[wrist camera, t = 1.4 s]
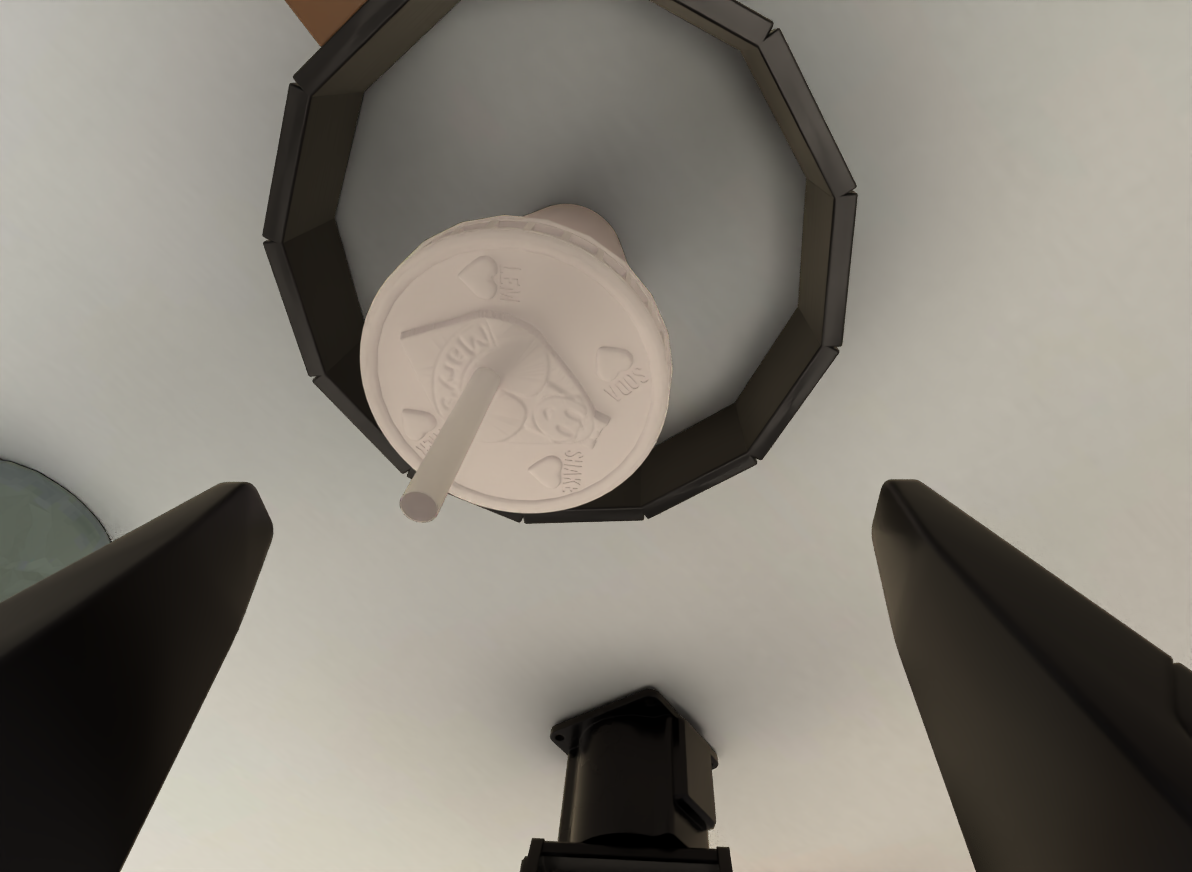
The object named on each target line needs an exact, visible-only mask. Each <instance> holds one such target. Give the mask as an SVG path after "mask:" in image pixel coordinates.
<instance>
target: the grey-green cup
mask: <svg viewBox="0 0 1192 872" xmlns="http://www.w3.org/2000/svg"><path fill="white" fill-rule="evenodd" d="M109 543H110V540H109V538H108V535H107V534H106V532H105V531H104V529H103V527H102V526H101V524H100V523H99V521H98V520H97V519H96V517H95V516H94V515H93V514H92V513H91V512H90V511H89V510H88V509H87V508H86V507H85V506H84V505H83V504H82V503H81V502H80V501H79V500H78V499H77V498H75V497H74V496H73V495H72V494H71V493H69V492H68V491H67V490H65V489H64V488H62V487H61V486H60V485H58V484H57V483H55V482H53V481H52V480H50V479H48V478H47V477H45V476H43V475H42V474H40V473H39V472H36V471H34V470H31V469H28V468H26V467H23V466H20V465H18V464H15V463H12V462H9V461H2V460H0V602H2V601H4V600H6V599H8V598H10V597H11V596H13V595H15V594H17V593H19V592H21V591H22V590H24V589H26V588H28V587H30V586H32V585H33V584H35V583H37V582H39V581H41V580H43V579H45V578H46V577H48V576H50V575H52V574H54V573H56V572H57V571H59V570H61V569H63V568H65V567H67V566H68V565H70V564H72V563H74V562H76V561H78V560H79V559H81V558H83V557H85V556H87V555H89V554H90V553H92V552H94V551H96V550H98V549H100V548H102V547H103V546H105V545H107V544H109Z"/></svg>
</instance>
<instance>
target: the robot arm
mask: <svg viewBox="0 0 1192 872" xmlns="http://www.w3.org/2000/svg"><path fill="white" fill-rule="evenodd" d="M272 538H273V524H272V521H271V519H270V517H269V515H268V512H267V510H266V508H265V506H264V504H263V502H262V500H261V498H260V495H259V493H258V491H257V489H256V488H255V487H254V486H253V485H252V484H251V483H248V482H223V483H220V484H217V485H215V486H214V487H212V488H210V489H208V490H206V491H204V492H203V493H201V494H199V495H197V496H195V497H193V498H192V499H190V500H188V501H186V502H184V503H182V504H181V505H179V506H177V507H175V508H173V509H171V510H170V511H168V512H166V513H164V514H162V515H160V516H158V517H157V518H155V519H153V520H151V521H149V522H147V523H146V524H144V525H142V526H140V527H138V528H136V529H135V530H133V531H131V532H129V533H127V534H125V535H124V536H122V537H120V538H118V539H116V540H114V541H113V542H111V543H109V544H107V545H105V546H103V547H102V548H100V549H98V550H96V551H94V552H92V553H90V554H89V555H87V556H85V557H83V558H81V559H79V560H78V561H76V562H74V563H72V564H70V565H68V566H67V567H65V568H63V569H61V570H59V571H57V572H56V573H54V574H52V575H50V576H48V577H46V578H45V579H43V580H41V581H39V582H37V583H35V584H33V585H32V586H30V587H28V588H26V589H24V590H22V591H21V592H19V593H17V594H15V595H13V596H11V597H10V598H8V599H6V600H4V601H2V602H0V872H120V871H121V869H122V867H123V865H124V863H125V861H126V859H127V857H128V855H129V853H130V851H131V849H132V847H133V845H134V843H135V841H136V839H137V836H138V834H139V832H140V830H141V828H142V826H143V824H144V822H145V820H146V818H147V816H148V814H149V812H150V810H151V808H152V806H153V804H154V802H155V800H156V798H157V796H158V794H159V792H160V790H161V788H162V786H163V783H164V781H165V779H166V777H167V775H168V773H169V771H170V769H171V767H172V765H173V763H174V761H175V759H176V757H177V755H178V753H179V751H180V749H181V747H182V745H183V743H184V741H185V739H186V737H187V735H188V733H189V730H190V728H191V726H192V724H193V722H194V720H195V718H196V716H197V714H198V712H199V710H200V708H201V706H202V704H203V702H204V700H205V698H206V696H207V694H208V692H209V690H210V688H211V686H212V684H213V682H214V680H215V678H216V675H217V673H218V671H219V669H220V667H221V665H222V663H223V661H224V659H225V657H226V655H227V653H228V651H229V649H230V647H231V645H232V643H233V641H234V638H235V636H236V634H237V632H238V630H239V627H240V625H241V622H242V620H243V617H244V615H245V612H246V609H247V607H248V604H249V601H250V598H251V596H252V593H253V590H254V588H255V585H256V582H257V579H258V577H259V574H260V571H261V569H262V566H263V563H264V560H265V558H266V555H267V552H268V549H269V547H270V544H271V541H272ZM872 542H873V546H874V551H875V555H876V560H877V564H878V569H879V573H880V578H881V582H882V587H883V591H884V596H885V600H886V605H887V609H888V614H889V618H890V623H891V627H892V631H893V635H894V639H895V643H896V646H897V649H898V652H899V655H900V658H901V661H902V664H903V667H904V670H905V672H906V675H907V678H908V681H909V684H910V686H911V689H912V692H913V695H914V698H915V701H916V703H917V706H918V709H919V712H920V715H921V718H922V720H923V723H924V726H925V729H926V732H927V735H928V737H929V740H930V743H931V746H932V749H933V751H934V754H935V757H936V760H937V763H938V766H939V768H940V771H941V774H942V777H943V780H944V783H945V785H946V788H947V791H948V794H949V797H950V799H951V802H952V805H953V808H954V811H955V814H956V816H957V819H958V822H959V825H960V828H961V831H962V833H963V836H964V839H965V842H966V845H967V848H968V850H969V853H970V856H971V859H972V862H973V864H974V867H975V870H976V872H1192V671H1191V670H1190V669H1188V668H1187V667H1185V666H1184V665H1182V664H1181V663H1173V659H1172V657H1171V656H1169V655H1168V654H1166V653H1165V652H1164V651H1162V650H1161V649H1159V648H1158V647H1156V646H1155V645H1154V644H1152V643H1151V642H1149V641H1148V640H1146V639H1145V638H1144V637H1142V636H1141V635H1139V634H1138V633H1136V632H1135V631H1134V630H1132V629H1131V628H1129V627H1128V626H1126V625H1125V624H1124V623H1122V622H1121V621H1119V620H1118V619H1116V618H1115V617H1114V616H1112V615H1111V614H1109V613H1108V612H1106V611H1105V610H1104V609H1102V608H1101V607H1099V606H1098V605H1096V604H1095V603H1094V602H1092V601H1091V600H1089V599H1088V598H1086V597H1085V596H1084V595H1082V594H1081V593H1079V592H1078V591H1076V590H1075V589H1074V588H1072V587H1071V586H1069V585H1068V584H1066V583H1065V582H1064V581H1062V580H1061V579H1059V578H1058V577H1056V576H1055V575H1054V574H1052V573H1051V572H1049V571H1048V570H1046V569H1045V568H1044V567H1042V566H1041V565H1039V564H1038V563H1036V562H1035V561H1034V560H1032V559H1031V558H1029V557H1028V556H1026V555H1025V554H1024V553H1022V552H1021V551H1019V550H1018V549H1016V548H1015V547H1014V546H1012V545H1011V544H1009V543H1008V542H1006V541H1005V540H1004V539H1002V538H1001V537H999V536H998V535H996V534H995V533H994V532H992V531H991V530H989V529H988V528H986V527H985V526H984V525H982V524H981V523H979V522H978V521H976V520H975V519H974V518H972V517H971V516H969V515H968V514H966V513H965V512H964V511H962V510H961V509H959V508H958V507H956V506H955V505H954V504H952V503H951V502H949V501H948V500H946V499H945V498H944V497H942V496H941V495H939V494H938V493H936V492H935V491H934V490H932V489H931V488H929V487H928V486H926V485H925V484H924V483H922V482H920V481H918V480H914V479H890V480H887V481H886V482H884V484H883V486H882V488H881V491H880V495H879V499H878V503H877V507H876V511H875V515H874V519H873V524H872ZM550 739H551V740H552V741H553V742H554V743H555V744H556V745H557V746H558V747H559V748H561V749H562V750H563V751H564V752H565V753H566V754H567V755H568V761H567V769H566V777H565V785H564V794H563V802H562V810H561V818H560V826H559V835H558V842H557V841H545V839H543V838H532V841H531V845H530V849H529V853H528V856H525V858H524V859H523V860H522V863H521V869H520V872H733V871H732V864H731V857H730V849H729V847H717V849H709V840H708V830H711V829H713V828H714V827H715V824H716V814H715V802H714V790H713V778H712V769H715V768H716V767H717V766H718V757H717V754H716V753H715V752H714V751H713V750H712V749H711V748H710V746H709V744H708V743H707V742H706V741H705V740H704V739H703V738H702V736H701V735H700V734H699V733H698V732H697V731H696V730H695V729H694V728H693V727H692V726H691V725H690V724H689V723H688V721H687V720H686V719H684V718H683V717H681V716H680V715H679V714H678V712H677V711H676V710H675V709H674V708H673V707H672V706H671V705H670V704H669V703H668V702H667V701H666V700H665V699H664V697H663V696H662V695H661V694H660V693H659V692H658V691H656V690H653V689H646V690H643V691H640V692H638V693H635V694H633V695H630V696H628V697H625V698H623V699H620V700H618V701H615V702H613V703H610V704H608V705H605V706H603V707H600V708H598V709H595V710H593V711H590V712H587V713H585V714H582V715H580V716H577V717H575V718H572V719H570V720H567V721H565V722H562V723H560V724H557V725H555V726H553V727H552V729H551V734H550Z"/></svg>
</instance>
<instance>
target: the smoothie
mask: <svg viewBox="0 0 1192 872" xmlns="http://www.w3.org/2000/svg"><path fill="white" fill-rule="evenodd" d="M360 371H361V377H362V383H363V387H364V391H365V395H366V398H367V401H368V404H369V407H370V409H371V412H372V414H373V416H374V418H375V420H376V422H377V424H378V426H379V427H380V429H381V431H382V432H383V434H384V436H385V437H386V438H387V440H388V441H389V443H390V444H391V445H392V447H393V448H394V449H395V450H396V451H397V453H398V454H399V455H400V456H401V457H402V458H403V459H404V460H405V461H406V462H407V463H408V464H409V465H410V466H411V467H412V468H413V469H414V470H416V473H415V475H414V477H413V478H412V480H411V482H410V483H409V485H408V487H407V489H406V490H405V492H404V494H403V496H402V497H401V499H400V508H401V510H402V512H403V513H404V515H405V516H406V517H408V518H409V519H411V520H413V521H416V522H422V523H424V522H429V521H432V520H433V519H435V518H436V516H437V515H438V513H439V510H440V508H441V506H442V504H443V502H444V500H445V498H446V496H447V494H448V493H450V494H452V495H454V496H456V497H458V498H460V499H463V500H465V501H468V502H470V503H473V504H476V505H479V506H483V507H486V508H491V509H495V510H500V511H506V512H515V513H545V512H554V511H560V510H565V509H569V508H573V507H577V506H579V505H582V504H585V503H588V502H590V501H593V500H595V499H597V498H599V497H601V496H603V495H605V494H606V493H608V492H610V491H612V490H613V489H614V488H616V487H617V486H619V485H620V484H621V483H623V482H624V481H625V480H626V479H627V478H628V477H630V476H631V475H632V474H633V473H634V472H635V471H636V470H637V469H638V468H639V466H640V465H641V464H642V463H643V462H644V460H645V459H646V458H647V456H648V455H649V453H650V452H651V450H652V448H653V447H654V445H655V443H656V441H657V439H658V437H659V435H660V433H661V430H662V427H663V424H664V421H665V418H666V414H667V409H668V404H669V395H670V386H671V380H672V373H673V366H672V358H671V350H670V343H669V335H668V331H667V328H666V326H665V324H664V322H663V319H662V317H661V315H660V312H659V310H658V308H657V305H656V303H655V301H654V298H653V296H652V294H651V293H650V292H649V291H648V289H647V288H646V287H645V286H644V284H643V283H642V282H641V281H640V279H639V278H638V277H637V276H636V274H635V273H634V272H633V271H632V269H631V268H630V267H629V266H628V264H627V261H626V258H625V255H624V252H623V250H622V247H621V244H620V241H619V239H618V237H617V235H616V233H615V231H614V230H613V228H612V227H611V226H610V224H609V223H608V222H607V221H606V220H605V219H604V218H603V217H601V216H600V215H599V214H597V213H596V212H594V211H592V210H590V209H588V208H586V207H583V206H579V205H574V204H557V205H552V206H549V207H546V208H543V209H541V210H538V211H536V212H533V213H531V214H528V215H525V216H523V217H519V216H510V215H500V216H495V217H489V218H483V219H477V220H471V221H466V222H461V223H459V224H457V225H455V226H453V227H451V228H449V229H447V230H445V231H443V232H441V233H439V234H437V235H435V236H433V237H431V238H429V239H427V240H425V241H424V242H423V243H422V244H421V245H420V246H419V247H417V248H416V249H415V250H414V251H413V252H412V253H411V254H410V255H409V256H408V257H407V258H406V259H405V260H404V261H403V262H402V263H401V264H400V265H399V266H398V267H397V268H396V269H395V270H394V272H393V273H392V274H391V275H390V276H389V277H388V278H387V279H386V281H385V282H384V284H383V285H382V286H381V288H380V289H379V291H378V292H377V294H376V296H375V298H374V300H373V301H372V304H371V306H370V308H369V311H368V313H367V316H366V319H365V323H364V326H363V330H362V336H361V343H360Z"/></svg>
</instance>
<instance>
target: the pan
mask: <svg viewBox="0 0 1192 872" xmlns="http://www.w3.org/2000/svg"><path fill="white" fill-rule="evenodd" d="M285 1H286V3H287V4H288V5H289V7H290V8H291V9H292V10H293V12H294V13H295V14H296V16H297V17H298V18H299V19H300V21H301V22H302V23H303V25H304V26H305V27H306V29H307V30H308V31H309V32H310V34H311V35H312V36H313V38H314V39H315V40H316V41H317V43H318V44H319V45H320V46H321V48H320V49H319V50H318V51H317V52H316V53H315V54H314V55H313V56H312V57H311V58H310V59H309V60H308V61H307V62H306V63H305V64H304V65H303V66H302V67H301V68H300V69H299V70H298V71H297V72H296V73H295V74H294V76H293V79H294V80H295V81H296V82H297V83H290V84H289V89H288V94H287V100H286V106H285V111H284V117H283V122H282V128H281V134H280V139H279V145H278V150H277V156H276V162H275V167H274V173H273V178H272V184H271V190H270V195H269V201H268V206H267V212H266V218H265V223H264V229H263V234H262V235H263V237H264V238H267V239H268V240H266V241H264V242H263V245H264V248H265V251H266V254H267V257H268V259H269V262H270V265H271V268H272V271H273V274H274V277H275V280H276V283H277V286H278V288H279V291H280V294H281V297H282V300H283V303H284V306H285V309H286V312H287V315H288V317H289V320H290V323H291V326H292V329H293V332H294V335H295V338H296V341H297V344H298V347H299V349H300V352H301V355H302V358H303V361H304V364H305V367H306V370H307V373H308V375H309V376H310V377H312V376H316V377H315V378H314V379H313V383H314V384H315V385H316V386H317V387H318V388H319V389H320V390H321V391H322V392H323V393H324V394H325V395H326V396H327V397H328V398H329V399H330V400H331V401H332V402H333V403H334V404H335V405H336V406H337V407H338V408H339V409H340V411H341V412H342V413H343V414H344V415H345V416H346V417H347V418H348V419H349V420H350V421H351V422H352V423H353V424H354V425H355V426H356V427H357V428H358V429H359V430H360V431H361V432H362V433H363V434H364V435H365V436H366V437H367V438H368V439H369V440H370V441H371V442H372V443H373V444H374V445H375V446H376V447H377V448H378V449H379V450H380V451H381V452H382V454H383V455H384V456H385V457H386V458H387V459H388V460H389V461H390V462H391V463H392V464H393V465H394V466H395V467H396V468H397V469H398V470H399V471H400V472H401V473H402V474H404V473H406V472H407V471H408V474H407V477H408V478H410V479H412V478H413V477H414V475H415V473H416V470H414V469H413V468H412V467H411V466H410V465H409V464H408V463H407V462H406V461H405V460H404V459H403V458H402V457H401V456H400V455H399V454H398V453H397V451H396V450H395V449H394V448H393V447H392V445H391V444H390V443H389V441H388V440H387V438H386V437H385V436H384V434H383V432H382V431H381V429H380V427H379V426H378V424H377V422H376V420H375V418H374V416H373V414H372V412H371V409H370V407H369V404H368V401H367V398H366V395H365V391H364V387H363V383H362V377H361V371H360V343H361V336H362V330H363V326H364V320H363V316H362V312H361V309H360V305H359V302H358V298H357V295H356V291H355V288H354V284H353V281H352V277H351V274H350V270H349V267H348V263H347V260H346V256H345V253H344V249H343V246H342V242H341V239H340V235H339V232H338V228H337V225H336V221H335V214H336V209H337V205H338V201H339V197H340V192H341V188H342V184H343V180H344V175H345V171H346V167H347V162H348V158H349V154H350V150H351V145H352V141H353V137H354V133H355V128H356V124H357V120H358V115H359V111H360V107H361V103H362V98H363V94H364V91H366V90H367V89H368V88H369V87H370V86H371V85H372V84H373V83H374V82H375V81H376V80H377V79H378V78H379V77H380V76H381V75H382V74H383V73H384V72H386V71H387V70H388V69H389V68H390V67H391V66H392V65H393V64H394V63H395V62H396V61H397V60H398V59H399V58H400V57H401V56H402V55H403V54H404V53H406V52H407V51H408V50H409V49H410V48H411V47H412V46H413V45H414V44H415V43H416V42H417V41H418V40H419V39H420V38H421V37H422V36H423V35H424V34H426V33H427V32H428V31H429V30H430V29H431V28H432V27H433V26H434V25H435V24H436V23H437V22H438V21H439V20H440V19H441V18H442V17H443V16H445V15H446V14H447V13H448V12H449V11H450V10H451V9H452V8H453V7H454V6H455V5H456V4H457V3H458V2H459V1H460V0H285ZM649 1H651V2H653V3H655V4H657V5H658V6H660V7H662V8H664V9H666V10H667V11H669V12H671V13H673V14H675V15H676V16H678V17H680V18H682V19H684V20H685V21H687V22H689V23H691V24H693V25H694V26H696V27H698V28H700V29H702V30H703V31H705V32H707V33H709V34H711V35H712V36H714V37H716V38H718V39H720V40H721V41H723V42H725V43H727V44H729V45H730V46H732V47H734V48H736V49H737V50H739V51H740V52H741V53H742V55H743V57H744V59H745V61H746V63H747V65H748V67H749V69H750V71H751V73H752V75H753V77H754V79H755V80H756V82H757V84H758V86H759V88H760V90H761V92H762V94H763V96H764V98H765V100H766V102H767V104H768V105H769V107H770V109H771V111H772V113H773V115H774V117H775V119H776V121H777V123H778V125H779V127H780V129H781V131H782V132H783V134H784V136H785V138H786V140H787V142H788V144H789V146H790V148H791V150H792V152H793V154H794V156H795V157H796V159H797V161H798V163H799V165H800V167H801V169H802V171H803V173H804V175H805V177H806V189H805V205H804V220H803V236H802V251H801V267H800V282H799V298H798V307H797V309H796V310H795V312H794V313H793V315H792V316H791V318H790V320H789V321H788V323H787V324H786V326H785V327H784V329H783V330H782V332H781V333H780V335H779V336H778V338H777V339H776V341H775V342H774V344H773V345H772V347H771V349H770V350H769V352H768V353H767V355H766V356H765V358H764V359H763V361H762V362H761V364H760V365H759V367H758V368H757V370H756V371H755V373H754V375H753V376H752V378H751V379H750V381H749V382H748V384H747V385H746V387H745V388H744V390H743V391H742V393H741V394H740V396H739V397H738V399H737V401H736V402H735V403H734V404H732V405H730V406H728V407H726V408H725V409H723V410H721V411H719V412H717V413H715V414H714V415H712V416H710V417H708V418H706V419H704V420H703V421H701V422H699V423H697V424H695V425H694V426H692V427H690V428H688V429H686V430H684V431H683V432H681V433H679V434H677V435H675V436H674V437H672V438H670V439H668V440H666V441H664V442H663V443H661V444H659V445H657V446H655V447H653V448H652V450H651V452H650V453H649V455H648V456H647V458H646V459H645V460H644V462H643V463H642V464H641V465H640V466H639V468H638V469H637V470H636V471H635V472H634V473H633V474H632V475H631V476H630V477H628V478H627V479H626V480H625V481H624V482H623V483H621V484H620V485H619V486H617V487H616V488H614V489H613V490H612V491H610V492H608V493H606V494H605V495H603V496H601V497H599V498H597V499H595V500H593V501H590V502H588V503H585V504H582V505H579V506H577V507H573V508H569V509H565V510H560V511H554V512H545V513H515V512H506V511H500V510H495V509H491V508H486V507H483V506H479V505H477V506H479V507H482V508H484V509H487V510H489V511H492V512H494V513H497V514H499V515H502V516H504V517H506V518H509V519H511V520H514V521H516V522H521V521H522V519H524V523H526V524H532V523H567V522H603V521H638V520H644V515H645V516H646V517H647V518H648V519H650V518H652V517H654V516H656V515H658V514H660V513H661V512H663V511H665V510H667V509H669V508H671V507H673V506H675V505H677V504H679V503H681V502H683V501H685V500H687V499H689V498H691V497H693V496H695V495H697V494H699V493H701V492H703V491H705V490H707V489H709V488H711V487H713V486H715V485H717V484H719V483H721V482H723V481H725V480H727V479H729V478H731V477H733V476H735V475H737V474H739V473H741V472H743V471H745V470H747V469H749V468H751V467H753V466H755V465H756V464H757V459H759V460H762V459H763V458H764V457H765V455H766V454H767V452H768V451H769V450H770V448H771V447H772V445H773V444H774V443H775V441H776V440H777V438H778V437H779V436H780V434H781V433H782V431H783V430H784V429H785V427H786V426H787V425H788V423H789V422H790V420H791V419H792V418H793V416H794V415H795V413H796V412H797V411H798V409H799V408H800V406H801V405H802V404H803V402H804V401H805V399H806V398H807V397H808V395H809V394H810V393H811V391H812V390H813V388H814V387H815V386H816V384H817V383H818V381H819V380H820V379H821V377H822V376H823V374H824V373H825V372H826V370H827V369H828V367H829V366H830V365H831V363H832V362H833V361H834V359H835V358H836V356H837V355H838V354H839V350H838V348H837V347H840V346H842V343H843V333H844V323H845V314H846V304H847V294H848V285H849V275H850V265H851V255H852V246H853V236H854V226H855V217H856V207H857V197H858V195H857V193H856V192H854V191H853V189H855V188H856V187H857V185H856V183H855V181H854V179H853V177H852V175H851V173H850V171H849V169H848V167H847V165H846V163H845V161H844V159H843V157H842V154H841V152H840V150H839V148H838V146H837V144H836V142H835V140H834V138H833V136H832V134H831V132H830V130H829V128H828V126H827V124H826V122H825V120H824V118H823V116H822V114H821V111H820V109H819V107H818V105H817V103H816V101H815V99H814V97H813V95H812V93H811V91H810V89H809V87H808V85H807V83H806V81H805V79H804V77H803V75H802V73H801V71H800V68H799V66H798V64H797V62H796V60H795V58H794V56H793V54H792V52H791V50H790V48H789V46H788V44H787V42H786V40H785V38H784V36H783V34H782V32H781V30H780V28H777V29H774V30H771V29H772V27H773V25H774V23H773V21H771V20H770V19H768V18H766V17H764V16H763V15H761V14H759V13H757V12H756V11H754V10H752V9H750V8H749V7H747V6H745V5H743V4H742V3H740V2H738V1H736V0H649ZM756 458H757V459H756ZM448 494H450V493H448ZM450 495H452V494H450ZM452 496H454V495H452ZM455 497H456V496H455ZM457 498H458V497H457ZM462 500H463V499H462ZM467 502H468V501H467ZM472 504H473V503H472ZM474 505H476V504H474Z"/></svg>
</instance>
